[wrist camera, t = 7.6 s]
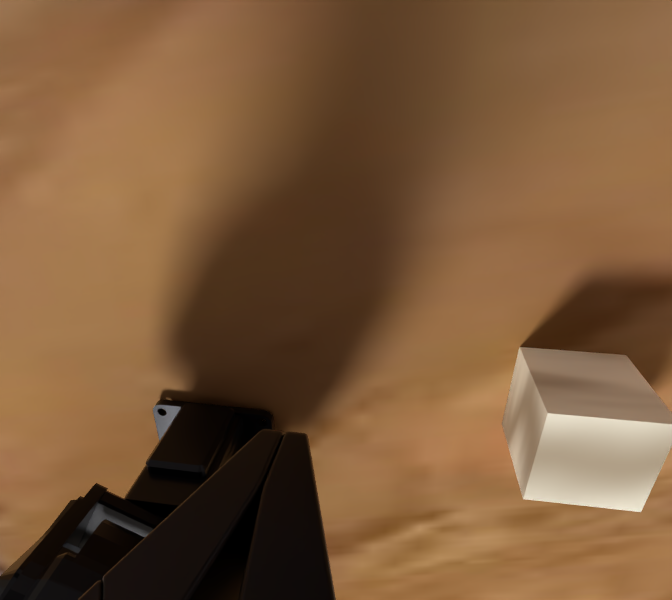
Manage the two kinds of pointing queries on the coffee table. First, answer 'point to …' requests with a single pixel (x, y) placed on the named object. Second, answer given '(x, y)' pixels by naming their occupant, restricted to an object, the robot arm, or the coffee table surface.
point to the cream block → (585, 429)
